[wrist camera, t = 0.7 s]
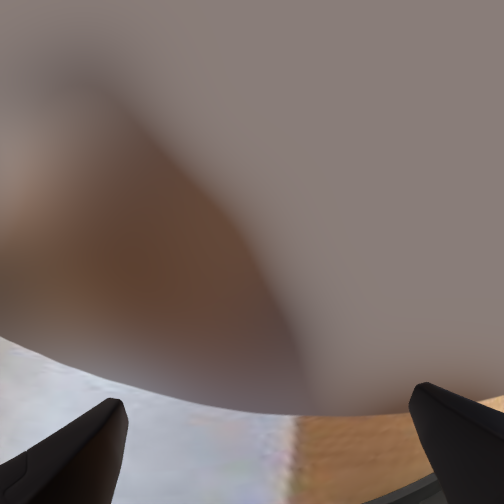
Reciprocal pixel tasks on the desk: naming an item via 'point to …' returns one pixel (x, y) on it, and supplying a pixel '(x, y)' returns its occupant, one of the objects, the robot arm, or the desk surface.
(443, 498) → the bin
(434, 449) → the robot arm
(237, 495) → the desk surface
